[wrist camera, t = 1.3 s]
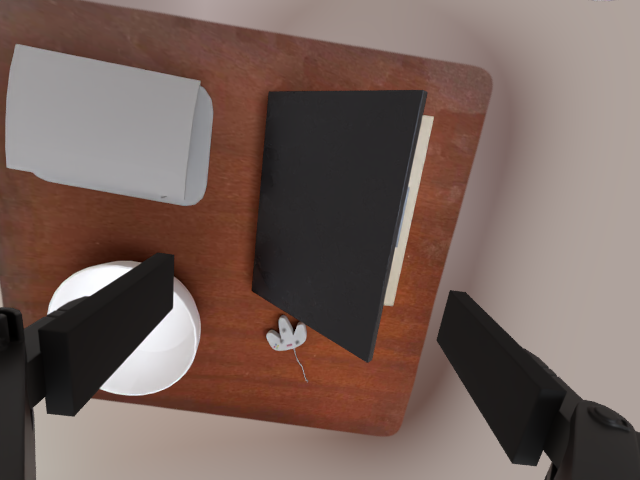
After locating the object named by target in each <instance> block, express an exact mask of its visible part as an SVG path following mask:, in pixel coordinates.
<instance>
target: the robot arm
mask: <svg viewBox="0 0 640 480" xmlns="http://www.w3.org/2000/svg"><path fill="white" fill-rule="evenodd" d="M173 295H174V255H172V254H164V253H156V254H155V255H153V256H152V257H150V258H148V259H147V260H145V261H144V262H142V263H141V264H139V265H138V266H136V267H134V268H133V269H131V270H130V271H128V272H127V273H125V274H124V275H122V276H120V277H119V278H117V279H116V280H114V281H113V282H111V283H110V284H108V285H106V286H105V287H103V288H102V289H100V290H99V291H97V292H96V293H94V294H92V295H91V296H83V297H81V298H78V299H75V300H72V301H69V302H68V303H66V304H64V305H63V306H61V307H59V308H58V309H57V311H55V310H54V311H53V312H51V313H50V314H48V315H47V317H43V318H41V319H40V320H38V321H36V322H35V323H33V324H32V325H30V326H28V327H27V328H25V329H24V328H23V320H22V314H21V312H20V310H17V309H14V308H4V307H1V308H0V480H36V466H35V465H36V462H35V428H34V427H35V425H34V411H33V407H34V406H35V405H36V404H38V403H39V402H40V401H41V400H42V399H43V398H44V397H45V400H46V409H47V414H55V415H65V416H75V415H76V414H77V413H78V412H79V411H80V409H81V408H82V407H83V406H84V405H85V404H86V403H87V402H88V401H89V400H90V399H91V397H92V396H93V395H94V394H95V393H96V392H97V391H98V390H99V389H100V388H101V387H102V385H103V384H104V383H105V382H106V381H107V380H108V379H109V378H110V377H111V376H112V375H113V373H114V372H115V371H116V370H117V369H118V368H119V367H120V366H121V365H122V364H123V363H124V361H125V360H126V359H127V358H128V357H129V356H130V355H131V354H132V353H133V352H134V350H135V349H136V348H137V347H138V346H139V345H140V344H141V343H142V342H143V341H144V340H145V338H146V337H147V336H148V335H149V334H150V333H151V332H152V331H153V330H154V329H155V328H156V326H157V325H158V324H159V323H160V322H161V321H162V320H163V319H164V318H165V317H166V316H167V314H168V313H169V312H170V311H171V310H172V309H173ZM437 342H438V343H439V345H440V346H441V348H442V350H443V352H444V353H445V355H446V357H447V358H448V360H449V361H450V363H451V364H452V366H453V368H454V370H455V371H456V373H457V374H458V376H459V378H460V379H461V381H462V382H463V384H464V385H465V387H466V389H467V391H468V392H469V394H470V396H471V397H472V399H473V400H474V402H475V404H476V405H477V407H478V409H479V410H480V412H481V413H482V415H483V417H484V418H485V420H486V421H487V423H488V425H489V426H490V428H491V430H492V431H493V433H494V435H495V436H496V438H497V439H498V441H499V443H500V444H501V446H502V448H503V449H504V451H505V453H506V454H507V456H508V457H509V459H510V461H511V462H512V463H513V464H521V465H530V466H537V464H538V461H539V459H540V456H541V454H542V451H543V450H544V452H545V453H546V454H547V456H548V457H549V458H550V460H551V461H552V463H551V466H550V468H549V470H548V472H547V475H546V477H545V480H640V432H636V431H635V430H634V428H633V426H632V425H631V424H630V423H629V422H628V421H627V420H626V419H625V418H623V417H622V416H621V415H619V414H618V413H616V412H615V411H613V410H611V409H610V408H608V407H606V406H604V405H601V404H598V403H596V402H592V401H587V400H583V399H582V398H581V397H579V396H578V395H577V394H576V393H575V392H574V391H573V390H572V389H571V388H570V387H569V386H568V385H567V384H566V383H565V382H564V381H563V380H562V379H561V378H559V377H557V375H556V374H555V373H554V372H553V371H552V370H551V369H549V368H548V366H547V365H546V364H545V363H544V362H542V360H541V359H540V358H538V357H537V356H535V355H534V354H532V353H531V352H529V351H527V350H526V349H523V348H522V347H521V346H520V345H519V344H518V343H517V342H516V341H515V340H514V339H513V338H511V336H510V335H509V334H508V333H507V332H506V331H504V330H503V329H502V328H501V327H500V326H499V325H498V324H497V323H496V322H495V321H494V320H493V319H492V318H491V317H490V316H489V315H488V314H487V313H486V312H485V311H484V310H483V309H482V308H481V307H480V306H479V305H478V304H477V303H476V302H475V301H474V300H473V299H472V298H471V297H470V296H469V295H468V294H467V293H466V292H459V291H452V290H450V292H449V296H448V300H447V303H446V307H445V311H444V314H443V318H442V322H441V326H440V329H439V333H438V337H437Z"/></svg>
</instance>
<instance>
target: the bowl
mask: <svg viewBox="0 0 640 480" xmlns="http://www.w3.org/2000/svg"><path fill="white" fill-rule="evenodd" d="M139 264H141V262H134V261H114V262H109V263H105V264H100V265H96V266H92V267H87V268H85V269H83V270H81V271H78V272H76V273H74V274H73V275H72V276H70V277H69V278H68V279H66V280H65V281H64V282H63V283H62V284H61V285H60V286H59V288H58V289H57V290H56V291H55V293H54V295H53V297H52V299H51V301H50V304H49V309H48V314H50V313H51V312H53V311H54V310H55V311H57V309H58V308H59V307H61V306H63V305H64V304H66V303H68V302H69V301H72V300H75V299H78V298H81V297H83V296H91V295H92V294H94V293H96V292H97V291H99V290H100V289H102V288H103V287H105V286H106V285H108V284H110V283H111V282H113V281H114V280H116V279H117V278H119V277H120V276H122V275H124V274H125V273H127V272H128V271H130V270H131V269H133V268H134V267H136V266H138V265H139ZM48 314H47V315H48ZM200 332H201V324H200V316H199V313H198V310H197V307H196V304H195V301H194V299H193V297H192V296H191V294H190V292H189V291H188V289H187V288H186V287H185V286H184V285H183V284H182V283H181V282H180V281H179V280H178V279H177V278H175V277H174V295H173V309H172V310H171V311H170V312H169V313H168V314H167V316H166V317H165V318H164V319H163V320H162V321H161V322H160V323H159V324H158V325H157V326H156V328H155V329H154V330H153V331H152V332H151V333H150V334H149V335H148V336H147V337H146V338H145V340H144V341H143V342H142V343H141V344H140V345H139V346H138V347H137V348H136V349H135V350H134V352H133V353H132V354H131V355H130V356H129V357H128V358H127V359H126V360H125V361H124V363H123V364H122V365H121V366H120V367H119V368H118V369H117V370H116V371H115V372H114V373H113V375H112V376H111V377H110V378H109V379H108V380H107V381H106V382H105V383H104V384H103V385H102V387H101V388H100V389H102V390H105V391H108V392H112V393H115V394H122V395H145V394H151V393H155V392H158V391H161V390H163V389H166V388H168V387H169V386H171V385H172V384H174V383H175V382H177V381H178V380H179V379H180V378H181V377H182V376H183V375H184V374H185V373H186V372H187V370H188V369H189V367H190V366H191V364H192V362H193V360H194V357H195V354H196V351H197V347H198V344H199V340H200Z"/></svg>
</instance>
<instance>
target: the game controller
mask: <svg viewBox="0 0 640 480" xmlns="http://www.w3.org/2000/svg"><path fill="white" fill-rule="evenodd" d="M279 329H280V334H279V333H277V332H276V331H274V330H270V331H269V332H268V333H267V335H266V338H267V340H268V342H269V344H270V346H271V347H272V348H273V349H274V350H279V351H282V350H289V349H292V348H293V349H294V348H295V347H298V346H300V345H301V344H303V343H304V342H305V340H306V335H307V332H306V326H305V324H304V323H303V322H299V323H298V325H297V327H296V330H295V333H293V328H292V326H291V324H290V322H289V320H288V318H287V317H286V316H285V315H282V316H281V317H280V319H279ZM294 352H295V349H294ZM295 356H296V353H295ZM296 359H297V356H296ZM297 361H298V359H297ZM298 363H299V361H298ZM300 365H301V363H300ZM301 367H302V365H301ZM302 369H303V367H302ZM303 373H304V370H303ZM304 376H305V374H304ZM305 379H306V377H305ZM306 381H307V382H308V380H307V379H306Z"/></svg>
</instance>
